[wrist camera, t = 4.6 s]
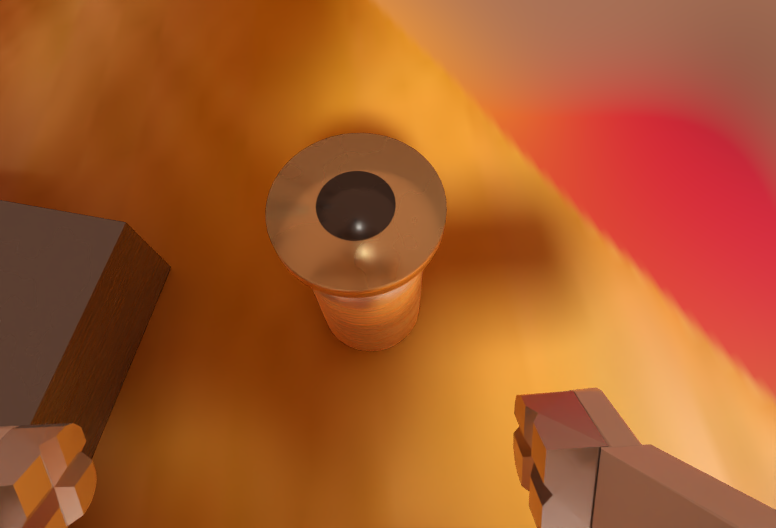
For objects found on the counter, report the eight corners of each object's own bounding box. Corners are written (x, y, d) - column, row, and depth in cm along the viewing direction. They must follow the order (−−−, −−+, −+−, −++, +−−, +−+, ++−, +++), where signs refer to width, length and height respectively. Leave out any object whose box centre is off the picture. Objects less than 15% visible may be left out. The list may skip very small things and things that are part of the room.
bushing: (419, 374, 20) (430, 304, 13) (298, 350, 21) (240, 270, 13) (440, 261, 22) (459, 144, 15) (328, 242, 23) (293, 120, 15)
